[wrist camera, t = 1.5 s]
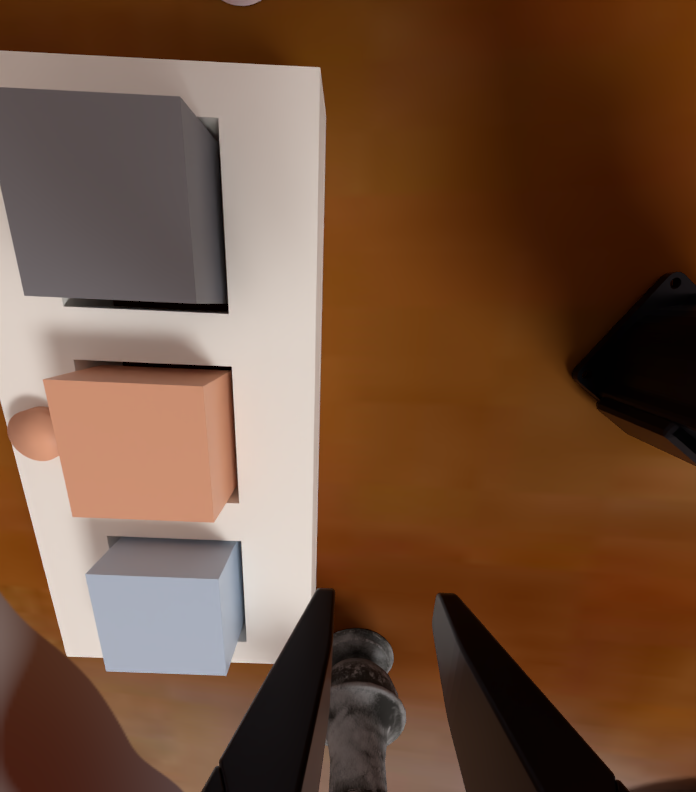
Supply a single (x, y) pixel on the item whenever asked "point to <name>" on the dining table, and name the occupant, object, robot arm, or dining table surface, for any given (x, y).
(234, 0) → the smoothie
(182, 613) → the blue key
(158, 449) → the terracotta key
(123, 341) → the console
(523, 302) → the dining table surface
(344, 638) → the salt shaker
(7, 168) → the charcoal key
